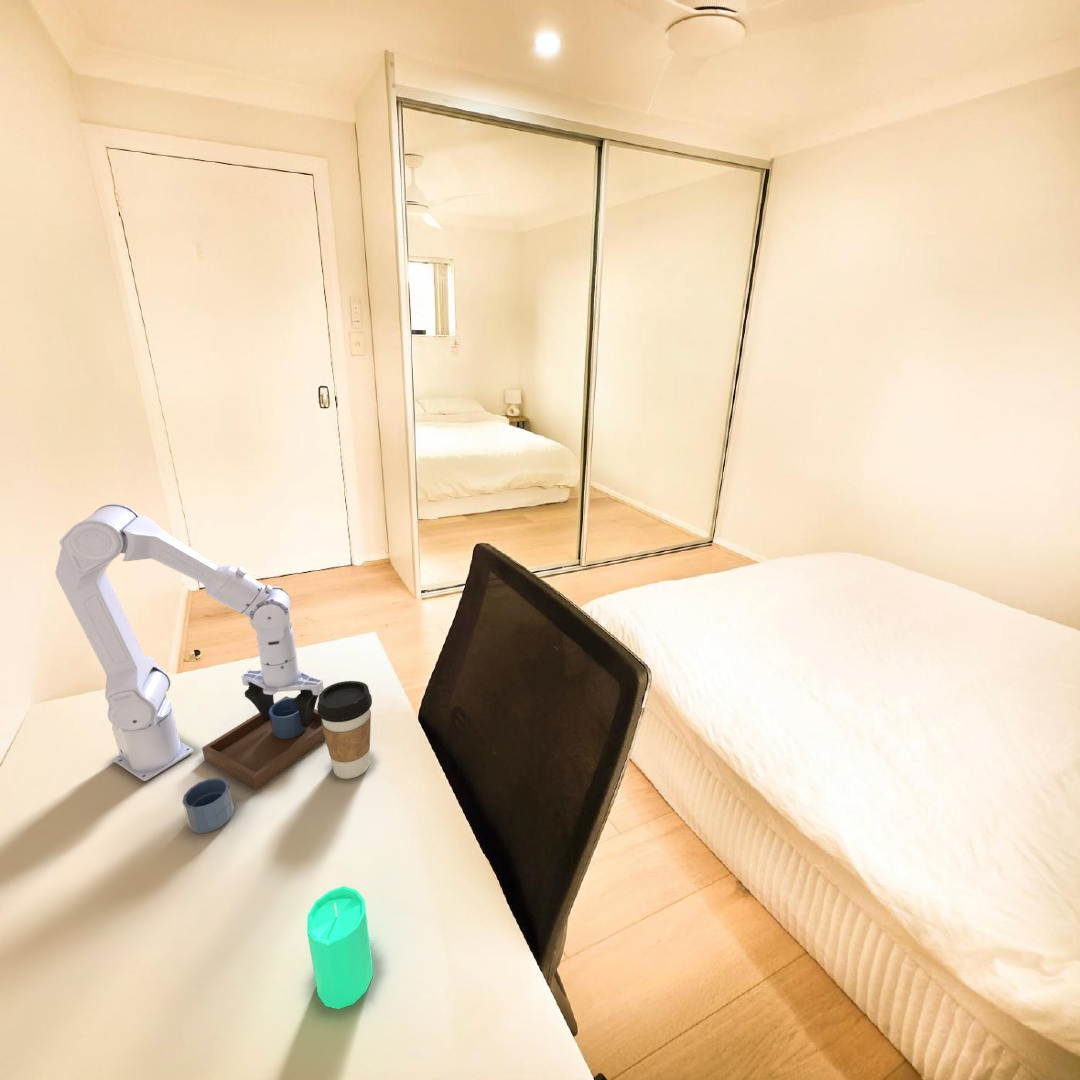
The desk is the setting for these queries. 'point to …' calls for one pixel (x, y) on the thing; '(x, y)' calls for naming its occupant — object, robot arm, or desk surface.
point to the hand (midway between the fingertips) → (288, 720)
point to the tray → (260, 750)
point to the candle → (340, 947)
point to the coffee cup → (347, 726)
